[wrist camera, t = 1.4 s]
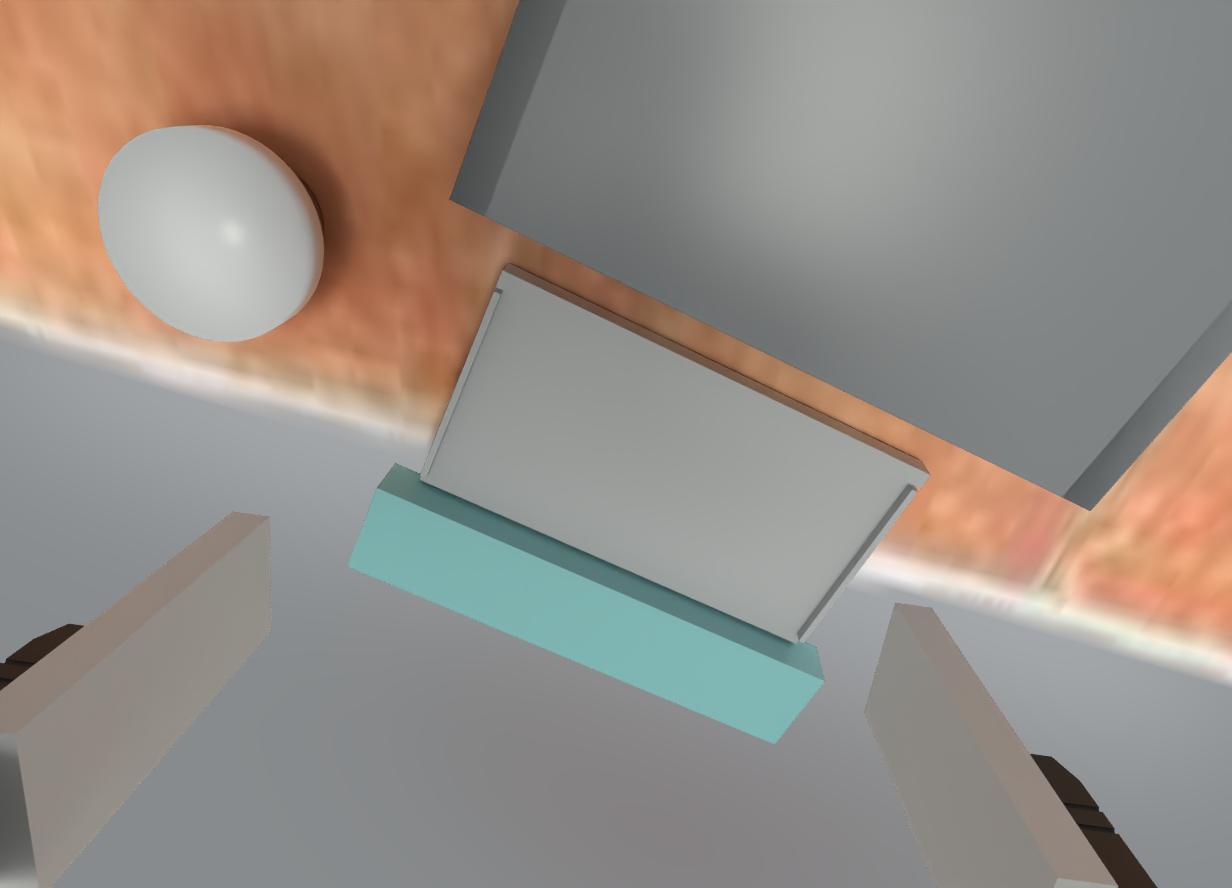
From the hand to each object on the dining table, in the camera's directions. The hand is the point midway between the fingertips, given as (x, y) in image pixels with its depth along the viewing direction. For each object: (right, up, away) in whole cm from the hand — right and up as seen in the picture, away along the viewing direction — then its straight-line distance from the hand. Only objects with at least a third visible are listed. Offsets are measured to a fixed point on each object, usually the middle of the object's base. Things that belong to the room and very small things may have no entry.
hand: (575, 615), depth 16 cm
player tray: (+2, 0, +22) cm, 22 cm away
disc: (-15, +12, +14) cm, 24 cm away
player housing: (+10, +16, +14) cm, 24 cm away
